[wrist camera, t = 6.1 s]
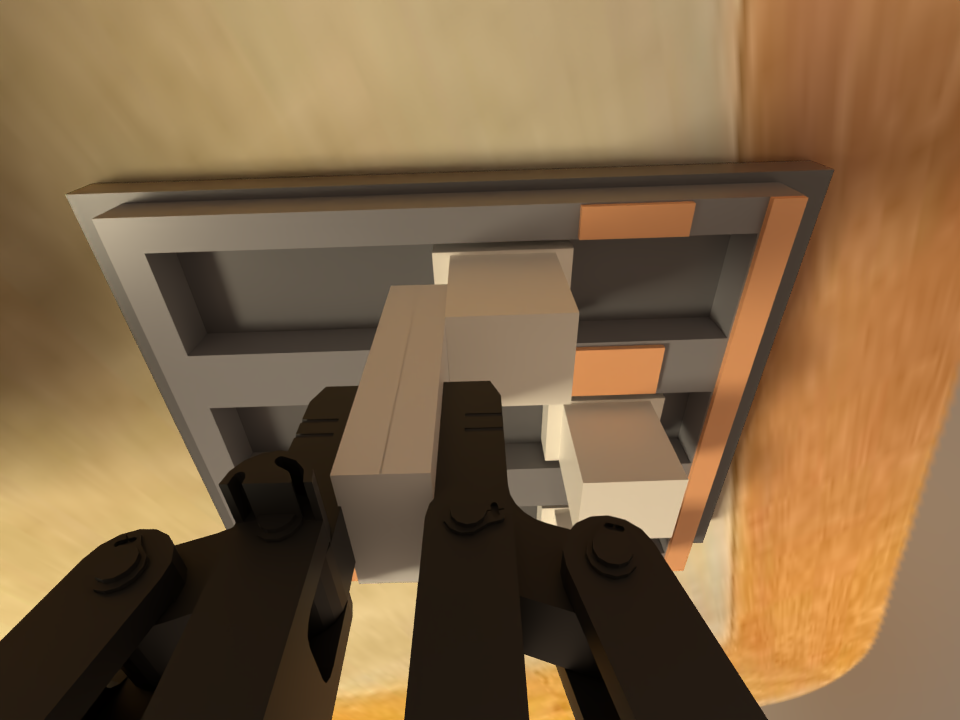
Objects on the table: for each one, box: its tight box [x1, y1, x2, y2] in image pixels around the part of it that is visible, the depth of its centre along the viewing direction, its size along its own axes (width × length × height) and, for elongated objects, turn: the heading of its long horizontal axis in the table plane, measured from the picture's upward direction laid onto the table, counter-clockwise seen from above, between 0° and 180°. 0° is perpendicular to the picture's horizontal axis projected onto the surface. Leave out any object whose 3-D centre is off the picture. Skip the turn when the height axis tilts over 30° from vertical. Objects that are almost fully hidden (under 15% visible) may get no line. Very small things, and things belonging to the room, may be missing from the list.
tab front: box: [432, 240, 579, 406], centre depth 14 cm, size 4×3×5 cm
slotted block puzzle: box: [65, 160, 834, 581], centre depth 19 cm, size 22×17×3 cm
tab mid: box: [541, 393, 689, 538], centre depth 17 cm, size 4×3×5 cm
